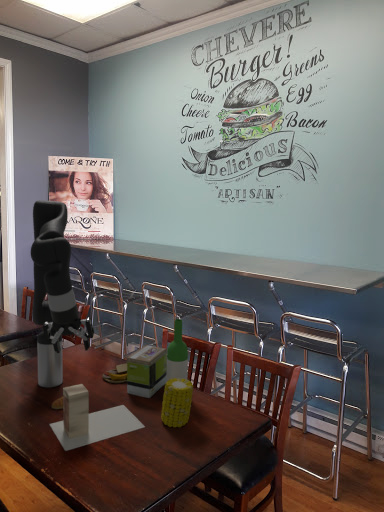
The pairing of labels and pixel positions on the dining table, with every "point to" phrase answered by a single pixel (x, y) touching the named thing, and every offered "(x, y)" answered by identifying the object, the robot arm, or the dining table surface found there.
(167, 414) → the food
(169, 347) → the wine bottle
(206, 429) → the dining table surface
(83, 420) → the maple block
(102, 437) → the grey mat
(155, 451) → the dining table surface
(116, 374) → the toy sandwich meal
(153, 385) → the tea box
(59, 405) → the pastry
